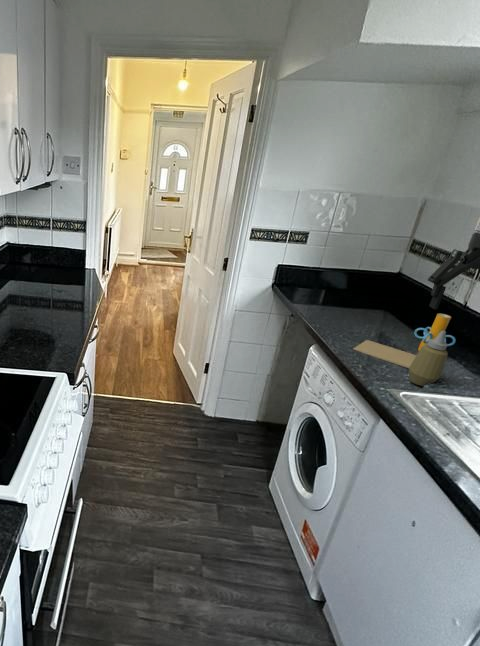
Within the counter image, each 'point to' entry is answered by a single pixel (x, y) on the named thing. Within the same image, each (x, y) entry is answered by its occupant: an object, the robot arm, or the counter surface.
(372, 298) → the counter surface
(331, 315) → the counter surface
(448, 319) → the orange cylinder with loops
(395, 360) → the cork mat
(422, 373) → the squeeze bottle
